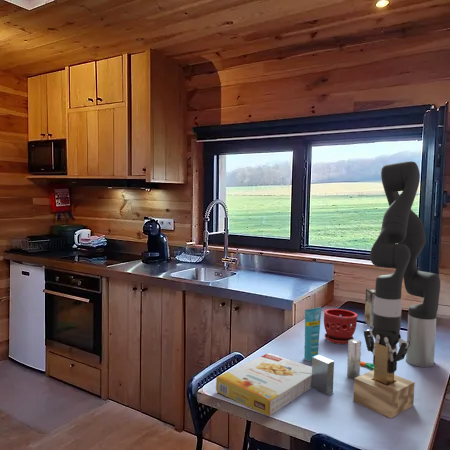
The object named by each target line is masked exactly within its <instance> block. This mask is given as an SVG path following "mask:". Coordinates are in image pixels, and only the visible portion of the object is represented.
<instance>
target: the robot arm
mask: <svg viewBox="0 0 450 450" xmlns="http://www.w3.org/2000/svg"><path fill="white" fill-rule="evenodd" d="M380 175H381V176H380V179H381V184H382V186H383V191H384V193H385V197H386V200H387V203H388V208H387V209H386V211H385V212H384V214H383V218H382V223H381V229H380V232H379V235H378V236H377V238H376V239H375V241H374V243H373V245H372V247H371V249H370V253H369V259H370V261H371V263H372V265H374V266H375V267H377V268H387V269H395V270H394V272H393V273H390V274H382V275H378V276H377V277H376V278H375V288H374V289H375V299H374V307H373V327H372V329H366V330H364V331H363V337H364V341H365V345H366V350H367V351H368V352H371V353H372V355H373V357H372V364H375V343H378V344H379V343H380V344H383V345H386V346H387V347H389V359H390V361H389V373H391V374H392V373H394V374H395V372H396V371H397V367H398V362H400V361H402V360H405V361H406V362H407V363H408V364H411V365H413V366H415V367H421V368H428V367H433V366H434V362H435V351H436V332H437V331H436V329H437V314H438V311H439V300H440V293H441V278H440V276H439V275H438V274H437V273H435V272H434V273H433V272H428V271H424V270H423V271H422V270H419V268H418V266H417V265H418V263H417V259H418V257H419V255H420V254H421V253H422V251H423V249H424V247H425V245H426V242H427V238H426V237H427V236H426V233H425V227H424V223H423V221H422V220H421V218H420V217H419V216H418V215H417V214H416V213H415V212H414V211H413V210H412V207H413V204H414V202H415V198H416V195H417V192H418V188H419V187H420V181H421V180H420V177H421V176H420V175H421V174H420V168H419V166H418V164H417V163H416V161H403V162H397V163H396V162H395V163H389V164H385V165H383V167H382V168H381V172H380ZM399 192H401V193H400V194H399ZM403 284H404V288H405V291H406V292H407V294H409V295H411V296H414V297H420V298H423V302H422V303H420V304H412V305H409V307H408V309H407V310H408V312H407V332H406V340H404V339H403V338H402V336H401V333H400V332H401V328H402V324H401V322H402V308H403V307H402V305H403V304H402V288H403ZM392 347H394V349H391V348H392ZM398 347H399V349H398Z"/></svg>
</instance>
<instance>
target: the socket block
mask: <svg viewBox="0 0 450 450" xmlns="http://www.w3.org/2000/svg"><path fill="white" fill-rule="evenodd" d="M415 383H416V382H414V381H412V380H409V379H407V378H404V377H402V376H400V375H397V374H394V383H392V384H390V385H388V386H386V385H384V384H381V383H379V382H376V381H374V370H370V371H368V372H365V373H362V374H360V376H358V377H356V378H354V379H353V401H352V402H355V403H357V404H359V405H361V406H363V407H364V408H367V409H368V410H371V411H373V412H375V413H378V414H379V415H382V416H383V417H386V418H389V419H392V418H394V417H396V416H397V415H400V414H401V413H403V412H405V411H407V410H408V409H410V408H412V407H413V406H414V402H415V401H414V400H415Z"/></svg>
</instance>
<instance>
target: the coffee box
mask: <svg viewBox="0 0 450 450" xmlns="http://www.w3.org/2000/svg"><path fill="white" fill-rule="evenodd" d="M374 299H375V288H365V304H364V322H365V324H367V325H368V327H369V328H373V307H374Z"/></svg>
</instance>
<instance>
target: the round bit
mask: <svg viewBox="0 0 450 450" xmlns="http://www.w3.org/2000/svg"><path fill="white" fill-rule="evenodd" d="M361 346H362V342H361V340H358V339H354V340H349V341H348V344H347V367H346V368H347V369H346V377H347V378H349V379H350V380H354V378H356V377H358V376H360V375H361V373H360V372H361V366H360V361H361V356H362V355H361V352H362V347H361Z"/></svg>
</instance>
